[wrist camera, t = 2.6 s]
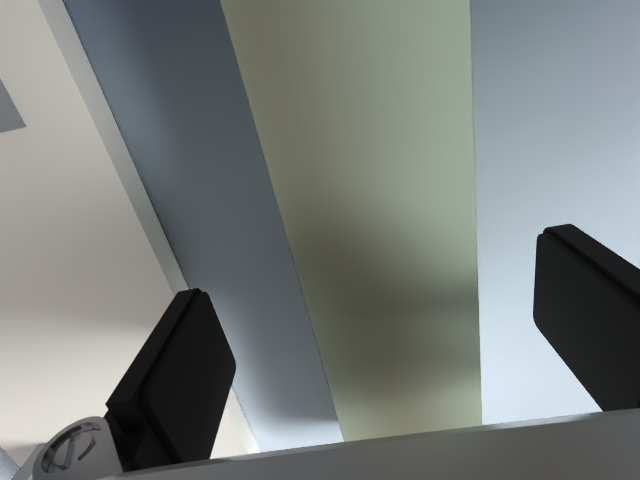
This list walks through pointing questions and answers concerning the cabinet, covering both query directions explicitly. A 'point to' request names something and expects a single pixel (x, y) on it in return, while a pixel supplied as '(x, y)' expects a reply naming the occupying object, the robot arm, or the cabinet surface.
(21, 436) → the bracket board
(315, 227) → the rail
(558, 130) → the cabinet surface
